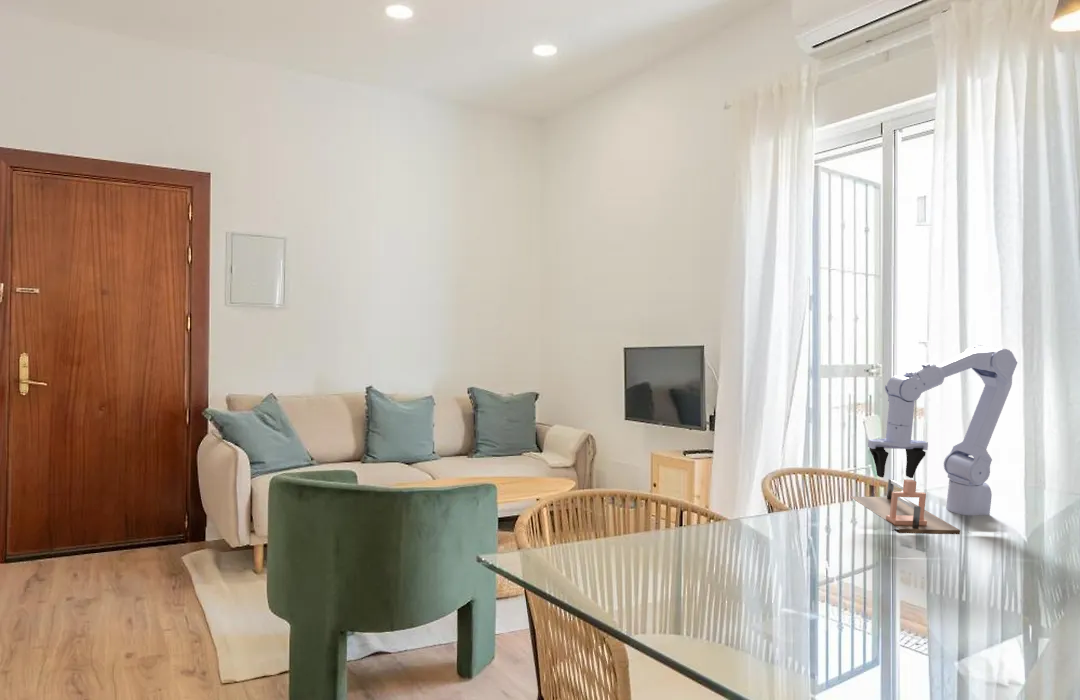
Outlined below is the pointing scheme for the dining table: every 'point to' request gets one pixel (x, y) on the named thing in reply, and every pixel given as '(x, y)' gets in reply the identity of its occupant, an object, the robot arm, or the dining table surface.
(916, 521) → the bent wire
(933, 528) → the base board
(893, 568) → the dining table surface
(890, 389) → the robot arm
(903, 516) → the frame
